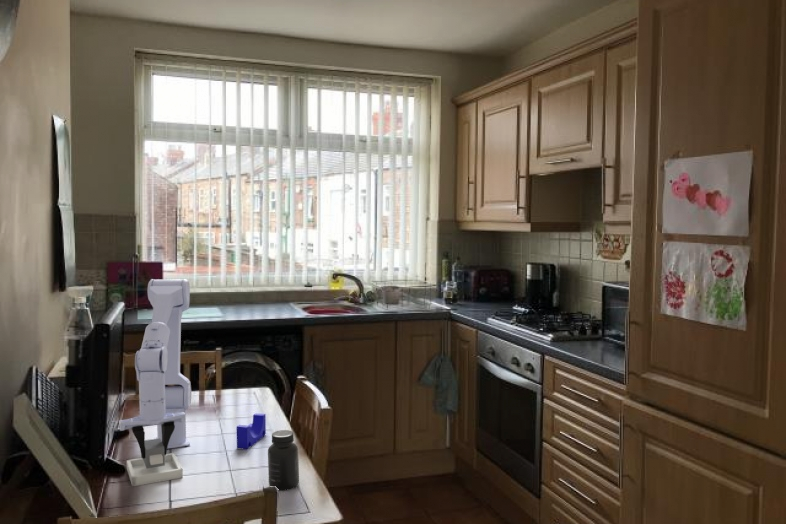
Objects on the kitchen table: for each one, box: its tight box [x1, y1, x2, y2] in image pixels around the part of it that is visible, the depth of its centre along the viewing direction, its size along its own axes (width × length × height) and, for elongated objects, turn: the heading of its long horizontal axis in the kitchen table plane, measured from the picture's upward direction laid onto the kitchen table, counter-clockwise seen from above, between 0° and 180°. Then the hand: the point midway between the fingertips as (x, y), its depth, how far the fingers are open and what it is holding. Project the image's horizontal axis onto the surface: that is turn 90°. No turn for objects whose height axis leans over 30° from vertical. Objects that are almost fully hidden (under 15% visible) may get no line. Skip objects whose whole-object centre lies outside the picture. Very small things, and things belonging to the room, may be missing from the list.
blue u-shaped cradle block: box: [236, 412, 267, 450], centre depth 179 cm, size 12×4×6 cm, turn 168°
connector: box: [143, 438, 165, 468], centre depth 156 cm, size 9×4×4 cm, turn 27°
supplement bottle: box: [267, 429, 300, 492], centre depth 149 cm, size 7×7×12 cm
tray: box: [126, 452, 184, 487], centre depth 156 cm, size 12×11×2 cm
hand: (153, 455), depth 156 cm, fingers closed on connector, 4 cm apart
